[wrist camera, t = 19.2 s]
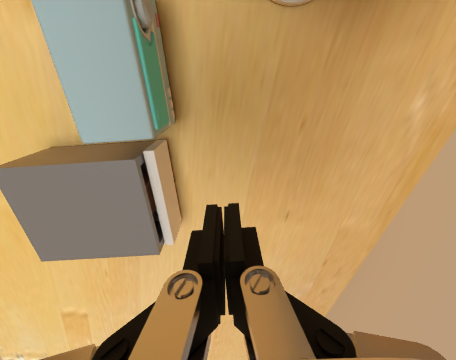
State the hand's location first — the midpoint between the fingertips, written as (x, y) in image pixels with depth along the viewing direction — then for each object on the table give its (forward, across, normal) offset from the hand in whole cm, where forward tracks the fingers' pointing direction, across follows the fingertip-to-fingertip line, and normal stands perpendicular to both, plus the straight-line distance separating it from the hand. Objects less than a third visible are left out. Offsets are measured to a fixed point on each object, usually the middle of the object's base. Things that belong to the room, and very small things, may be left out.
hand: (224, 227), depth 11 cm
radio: (+25, +11, -10) cm, 29 cm away
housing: (+25, +20, +8) cm, 33 cm away
